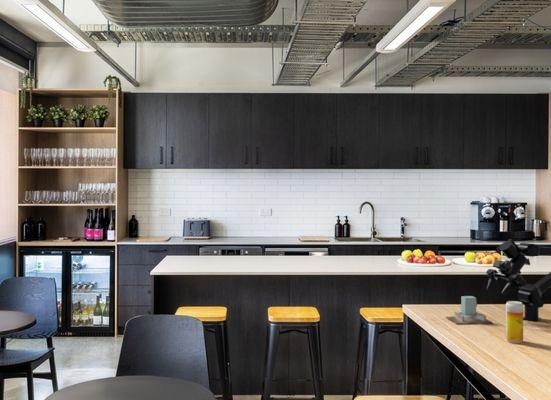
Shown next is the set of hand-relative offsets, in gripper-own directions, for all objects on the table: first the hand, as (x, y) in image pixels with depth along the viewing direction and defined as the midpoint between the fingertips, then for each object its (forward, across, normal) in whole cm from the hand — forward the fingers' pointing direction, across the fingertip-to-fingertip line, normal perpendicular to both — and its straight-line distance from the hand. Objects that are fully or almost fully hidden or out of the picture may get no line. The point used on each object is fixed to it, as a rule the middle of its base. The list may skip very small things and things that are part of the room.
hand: (494, 292), depth 230 cm
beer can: (+19, +26, 0) cm, 32 cm away
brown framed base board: (+15, -7, +4) cm, 17 cm away
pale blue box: (+15, -7, +4) cm, 17 cm away
